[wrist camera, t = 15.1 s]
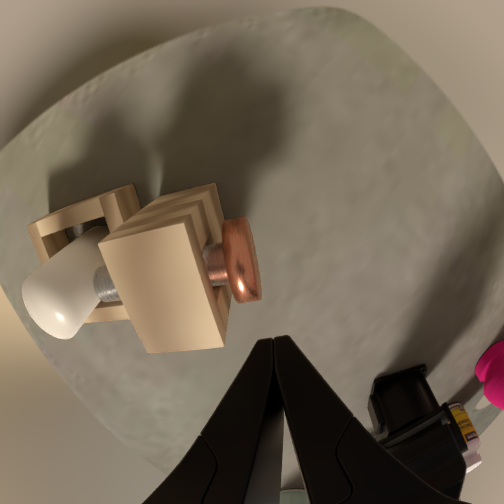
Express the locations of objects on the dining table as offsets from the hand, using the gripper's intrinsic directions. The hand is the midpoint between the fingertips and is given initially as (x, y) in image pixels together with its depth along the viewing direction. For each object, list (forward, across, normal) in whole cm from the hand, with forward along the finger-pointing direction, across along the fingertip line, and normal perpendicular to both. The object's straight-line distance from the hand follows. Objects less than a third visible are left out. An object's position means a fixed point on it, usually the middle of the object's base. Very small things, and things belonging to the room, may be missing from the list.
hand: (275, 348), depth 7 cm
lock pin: (+8, +5, 0) cm, 10 cm away
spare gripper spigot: (+12, +13, 0) cm, 18 cm away
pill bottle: (+12, -22, +35) cm, 44 cm away
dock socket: (+13, +10, 0) cm, 16 cm away
